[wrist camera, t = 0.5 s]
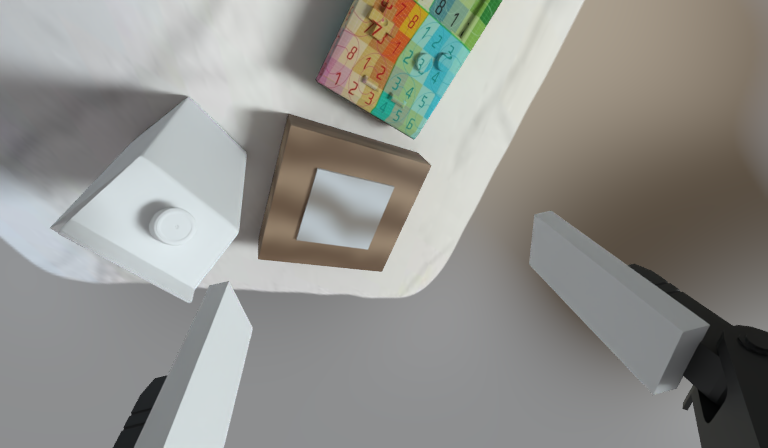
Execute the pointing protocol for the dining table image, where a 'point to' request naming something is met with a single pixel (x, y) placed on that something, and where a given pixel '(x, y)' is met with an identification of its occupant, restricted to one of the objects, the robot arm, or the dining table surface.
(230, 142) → the milk carton
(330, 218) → the walnut riser
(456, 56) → the puzzle game
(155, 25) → the dining table surface
